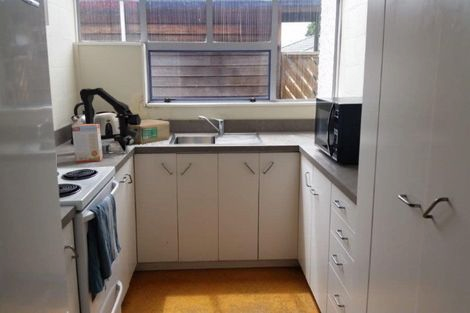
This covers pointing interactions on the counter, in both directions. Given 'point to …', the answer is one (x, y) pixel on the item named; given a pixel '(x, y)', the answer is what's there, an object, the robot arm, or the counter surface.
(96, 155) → the cracker box
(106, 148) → the housing
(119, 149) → the cartridge
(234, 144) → the counter surface
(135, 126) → the paper package
